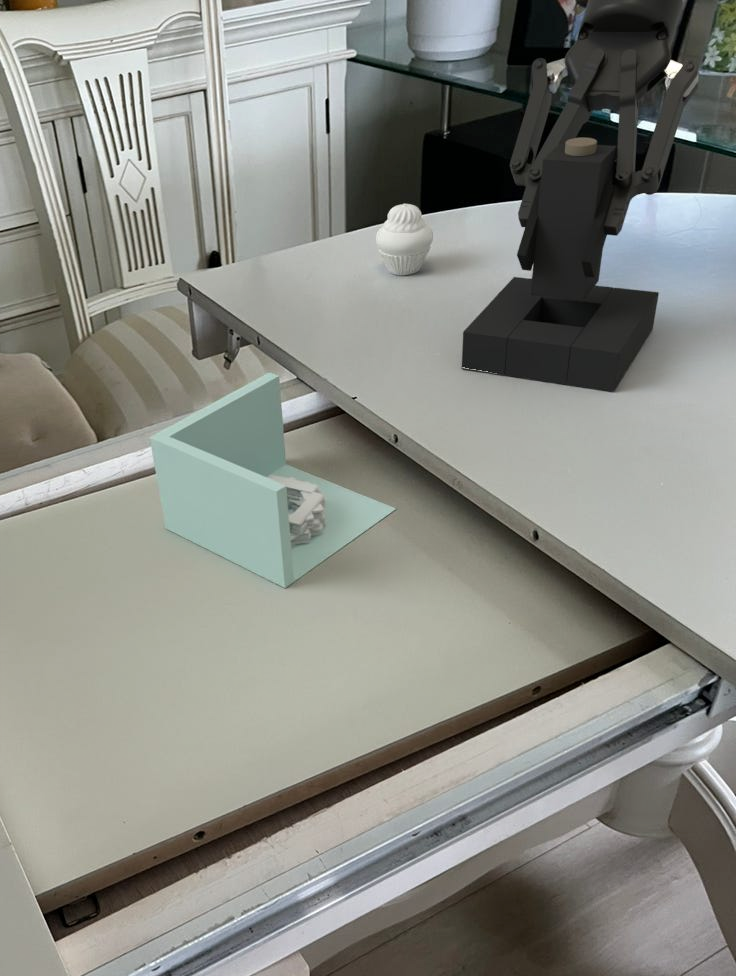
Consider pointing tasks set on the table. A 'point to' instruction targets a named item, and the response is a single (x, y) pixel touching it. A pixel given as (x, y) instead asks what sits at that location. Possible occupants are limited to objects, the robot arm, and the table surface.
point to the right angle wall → (253, 488)
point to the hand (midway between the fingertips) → (555, 265)
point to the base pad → (560, 335)
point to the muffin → (404, 240)
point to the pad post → (569, 216)
